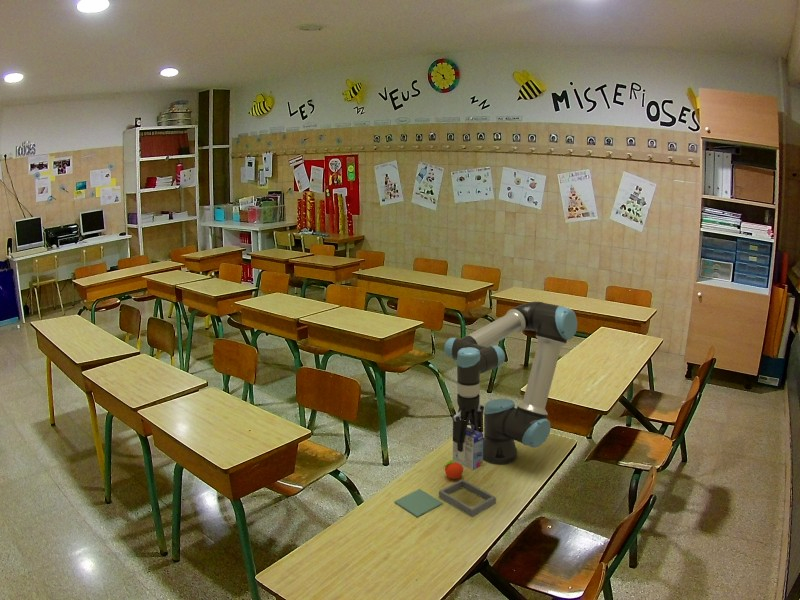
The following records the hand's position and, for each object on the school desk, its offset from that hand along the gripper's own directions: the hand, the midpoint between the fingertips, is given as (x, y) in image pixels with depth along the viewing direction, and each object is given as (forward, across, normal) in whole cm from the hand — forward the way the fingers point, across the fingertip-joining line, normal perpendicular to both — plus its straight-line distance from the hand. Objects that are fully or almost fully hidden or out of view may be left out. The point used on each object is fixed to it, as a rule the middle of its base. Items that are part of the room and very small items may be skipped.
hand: (468, 455), depth 212 cm
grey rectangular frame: (+17, 0, 0) cm, 17 cm away
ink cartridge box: (+3, 0, 0) cm, 3 cm away
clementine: (+18, -6, -14) cm, 23 cm away
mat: (+17, +14, -10) cm, 24 cm away
